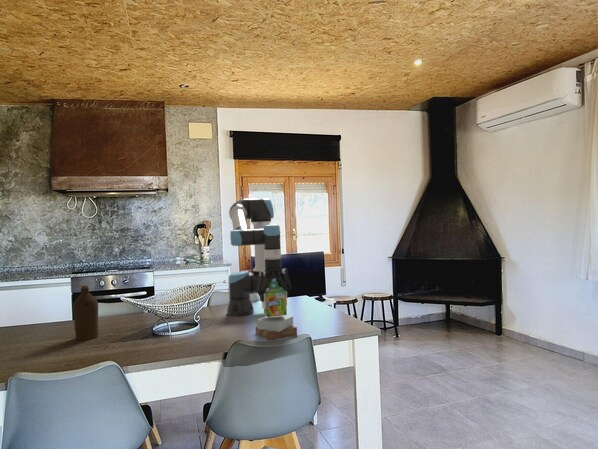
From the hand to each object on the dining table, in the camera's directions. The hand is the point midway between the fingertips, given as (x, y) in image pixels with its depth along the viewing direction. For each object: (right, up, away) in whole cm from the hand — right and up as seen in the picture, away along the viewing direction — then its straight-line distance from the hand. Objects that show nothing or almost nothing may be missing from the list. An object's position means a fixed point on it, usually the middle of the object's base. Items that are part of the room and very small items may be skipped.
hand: (274, 306), depth 184 cm
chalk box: (0, -4, 0) cm, 4 cm away
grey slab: (0, -9, 0) cm, 9 cm away
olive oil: (-90, -16, +7) cm, 91 cm away
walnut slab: (+1, -13, 0) cm, 13 cm away
